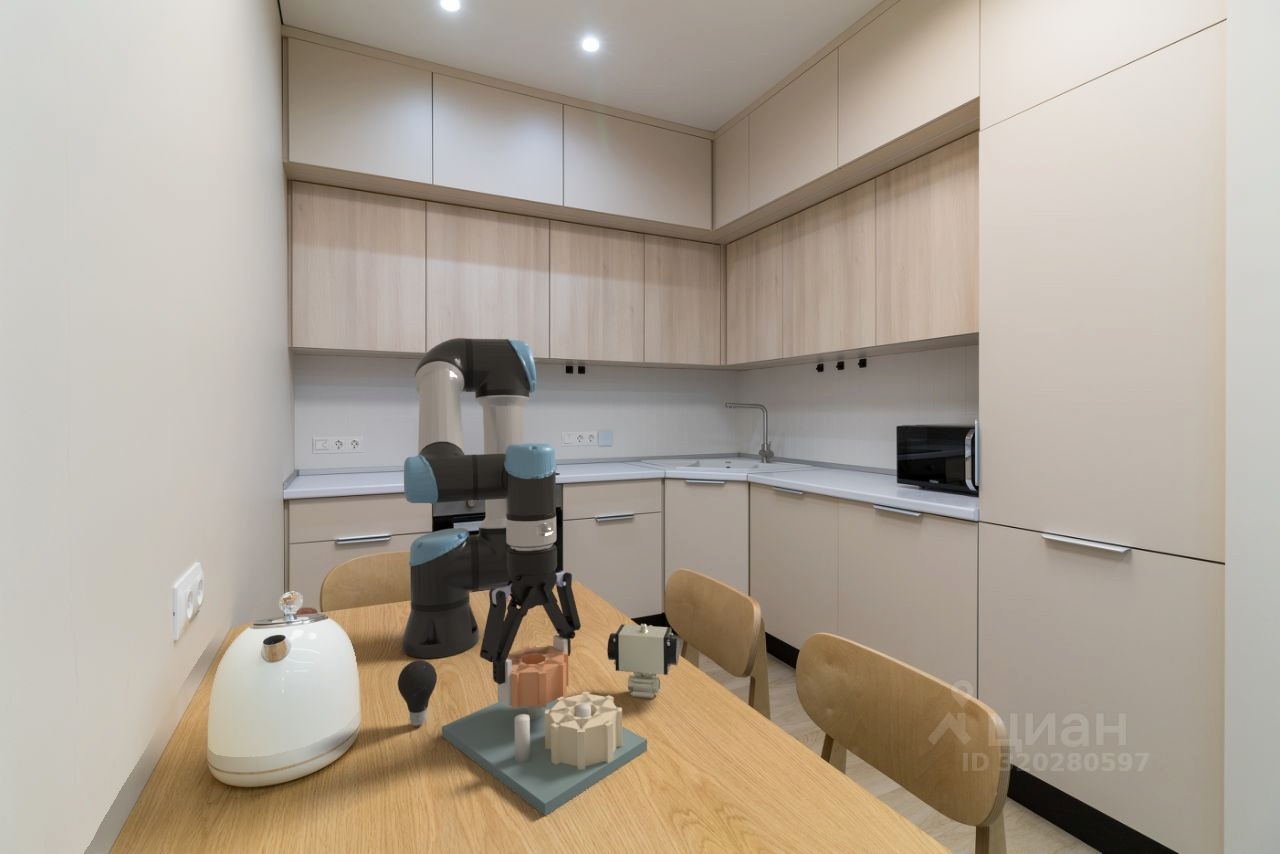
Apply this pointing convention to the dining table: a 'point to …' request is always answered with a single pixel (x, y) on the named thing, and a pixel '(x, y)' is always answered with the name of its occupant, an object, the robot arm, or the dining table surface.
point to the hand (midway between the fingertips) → (534, 689)
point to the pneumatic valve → (643, 656)
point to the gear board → (548, 746)
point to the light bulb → (417, 689)
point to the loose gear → (538, 676)
